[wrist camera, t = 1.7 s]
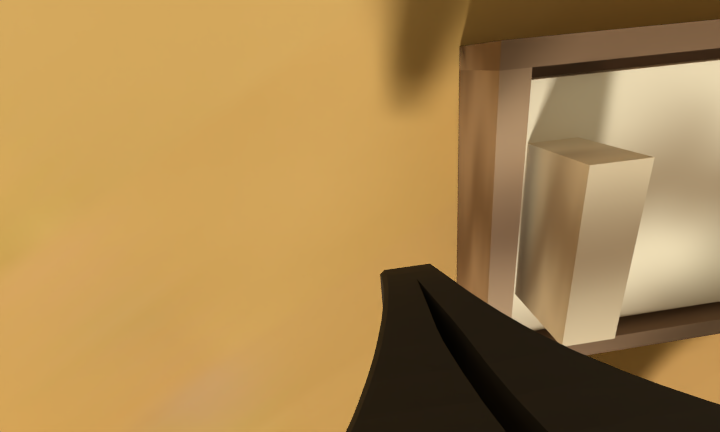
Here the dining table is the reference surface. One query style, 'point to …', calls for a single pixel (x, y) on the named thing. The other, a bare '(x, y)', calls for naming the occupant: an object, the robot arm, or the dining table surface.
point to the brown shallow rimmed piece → (508, 145)
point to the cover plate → (675, 174)
